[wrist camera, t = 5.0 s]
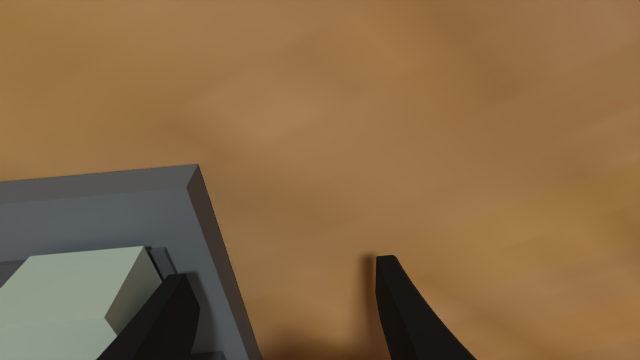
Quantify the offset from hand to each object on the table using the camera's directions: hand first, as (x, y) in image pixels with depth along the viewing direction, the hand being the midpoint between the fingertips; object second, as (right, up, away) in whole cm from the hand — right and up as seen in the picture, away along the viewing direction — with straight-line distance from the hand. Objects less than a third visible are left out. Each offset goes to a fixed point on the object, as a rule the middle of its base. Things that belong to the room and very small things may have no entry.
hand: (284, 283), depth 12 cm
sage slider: (-7, 0, 0) cm, 7 cm away
